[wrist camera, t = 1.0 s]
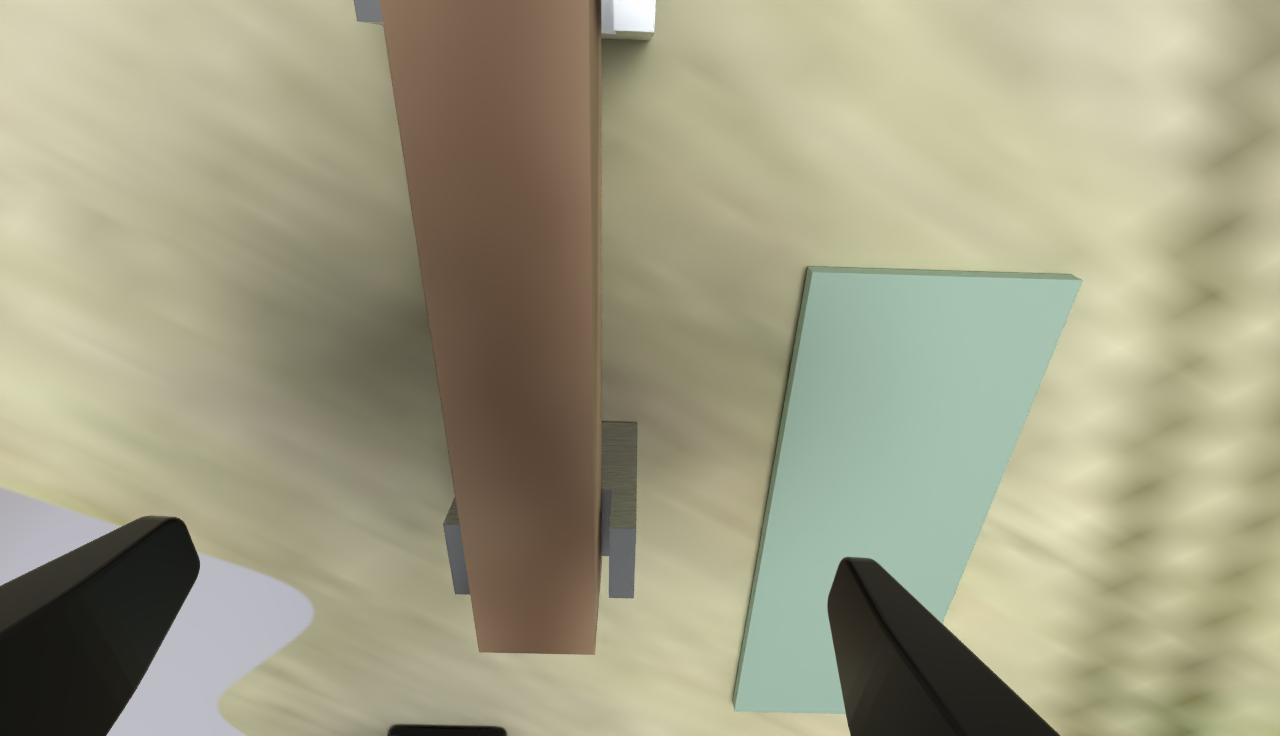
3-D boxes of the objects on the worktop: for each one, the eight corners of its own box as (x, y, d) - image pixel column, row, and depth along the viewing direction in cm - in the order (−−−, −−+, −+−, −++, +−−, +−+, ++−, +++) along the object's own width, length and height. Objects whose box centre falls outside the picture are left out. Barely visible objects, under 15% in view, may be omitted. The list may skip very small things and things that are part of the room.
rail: (503, 563, 21) (479, 652, 18) (421, -181, 11) (338, -270, 8) (601, 565, 21) (594, 654, 18) (601, -174, 11) (586, -261, 8)
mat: (732, 700, 31) (734, 711, 30) (808, 266, 20) (812, 272, 19) (900, 703, 31) (905, 715, 31) (1071, 274, 20) (1082, 280, 19)
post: (494, 479, 24) (455, 594, 19) (487, 418, 23) (443, 524, 17) (635, 483, 24) (633, 598, 19) (637, 422, 23) (636, 529, 18)
